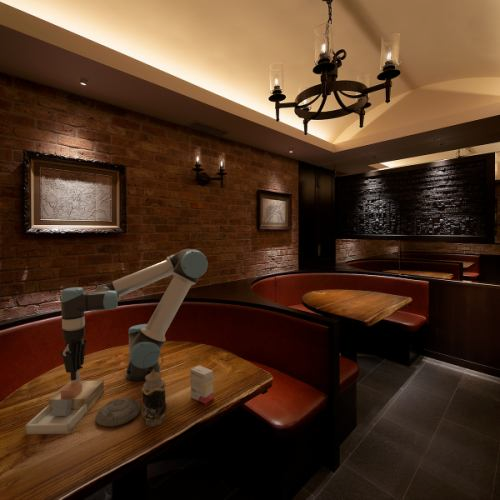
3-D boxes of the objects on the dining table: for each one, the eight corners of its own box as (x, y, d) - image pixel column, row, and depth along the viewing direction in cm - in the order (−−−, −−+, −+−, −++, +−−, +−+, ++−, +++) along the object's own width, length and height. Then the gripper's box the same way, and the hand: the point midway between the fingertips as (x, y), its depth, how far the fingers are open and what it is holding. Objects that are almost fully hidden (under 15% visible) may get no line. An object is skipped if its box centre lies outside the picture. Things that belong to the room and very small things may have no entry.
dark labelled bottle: (143, 431, 96) (140, 359, 94) (140, 417, 103) (138, 350, 101) (169, 422, 100) (167, 353, 98) (165, 410, 107) (163, 345, 105)
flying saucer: (111, 436, 94) (111, 420, 94) (87, 420, 102) (86, 405, 102) (149, 411, 107) (149, 397, 106) (125, 399, 115) (124, 386, 114)
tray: (86, 411, 106) (86, 403, 106) (67, 433, 95) (67, 424, 95) (49, 412, 106) (48, 404, 106) (25, 434, 95) (24, 425, 95)
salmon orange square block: (82, 390, 111) (81, 383, 111) (74, 398, 106) (73, 390, 106) (69, 390, 111) (69, 383, 111) (61, 398, 106) (60, 390, 106)
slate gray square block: (72, 398, 105) (67, 399, 103) (70, 414, 104) (64, 415, 101) (59, 399, 105) (54, 400, 103) (56, 414, 104) (50, 415, 101)
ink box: (214, 398, 114) (213, 370, 113) (205, 404, 110) (205, 375, 109) (199, 391, 119) (198, 364, 118) (190, 397, 115) (189, 369, 114)
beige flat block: (104, 391, 119) (103, 380, 119) (86, 411, 106) (86, 398, 106) (70, 392, 119) (69, 381, 119) (49, 412, 106) (48, 399, 106)
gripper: (74, 322, 117) (76, 377, 119) (52, 333, 104) (55, 395, 106) (92, 322, 117) (94, 377, 119) (72, 333, 104) (75, 395, 106)
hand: (75, 386), depth 112 cm, fingers closed
